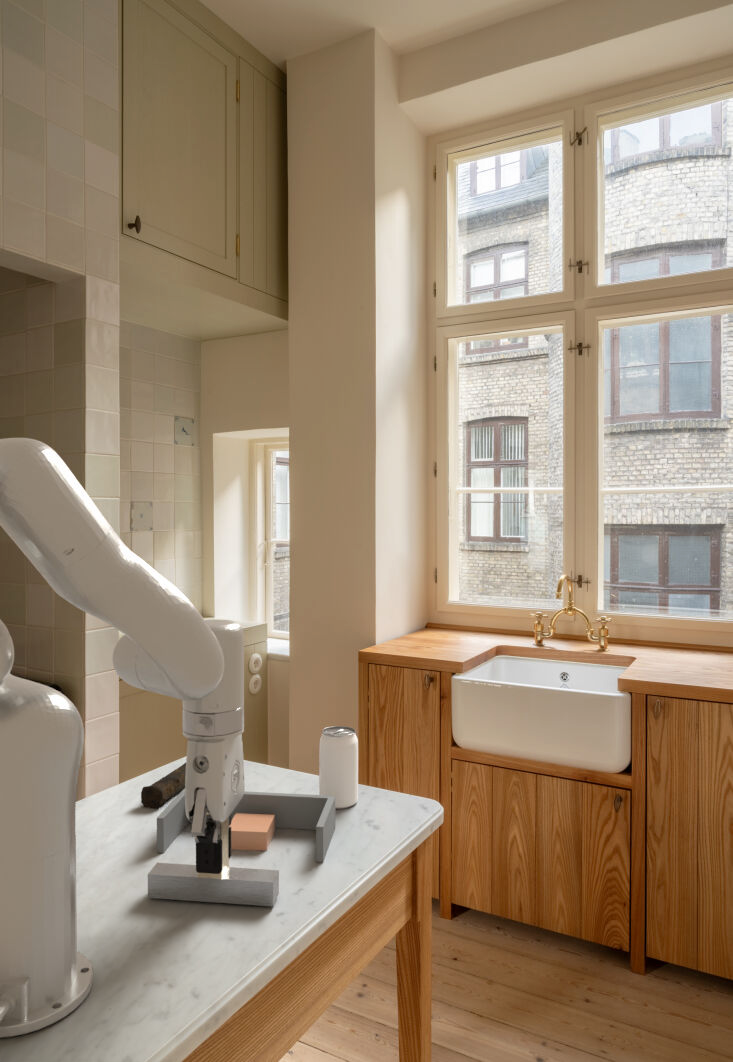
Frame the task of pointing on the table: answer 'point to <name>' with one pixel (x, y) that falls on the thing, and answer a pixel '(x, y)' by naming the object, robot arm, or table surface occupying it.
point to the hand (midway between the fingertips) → (214, 863)
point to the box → (285, 807)
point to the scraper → (214, 881)
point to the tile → (252, 831)
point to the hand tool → (163, 788)
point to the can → (339, 765)
